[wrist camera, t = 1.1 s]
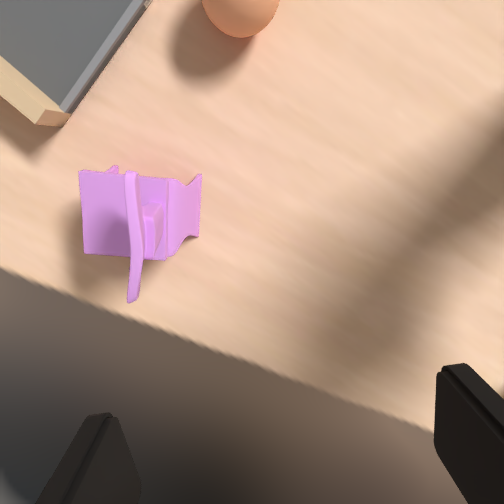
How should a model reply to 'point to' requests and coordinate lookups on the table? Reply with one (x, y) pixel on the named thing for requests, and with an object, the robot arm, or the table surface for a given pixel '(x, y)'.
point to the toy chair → (137, 217)
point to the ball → (240, 15)
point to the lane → (58, 51)
